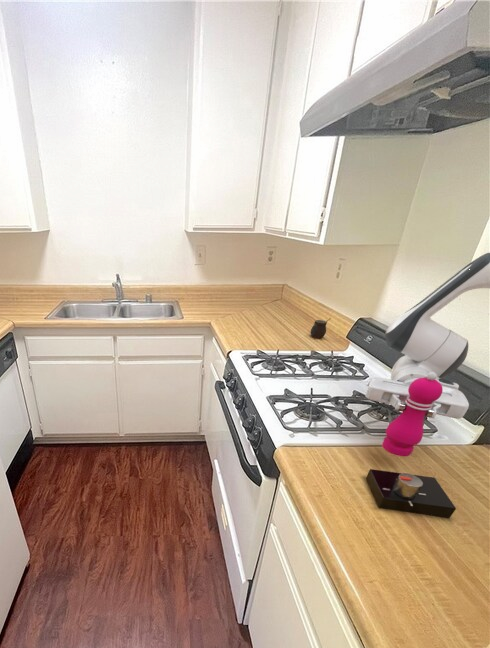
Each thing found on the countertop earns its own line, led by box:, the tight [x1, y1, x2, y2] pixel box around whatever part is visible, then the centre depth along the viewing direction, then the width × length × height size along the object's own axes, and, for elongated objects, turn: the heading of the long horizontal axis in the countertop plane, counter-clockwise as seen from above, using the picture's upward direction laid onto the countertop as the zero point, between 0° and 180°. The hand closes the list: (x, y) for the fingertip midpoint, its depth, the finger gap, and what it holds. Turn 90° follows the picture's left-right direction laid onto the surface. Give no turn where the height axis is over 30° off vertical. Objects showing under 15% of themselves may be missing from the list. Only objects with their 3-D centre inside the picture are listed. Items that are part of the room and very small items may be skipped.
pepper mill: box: [381, 372, 443, 457], centre depth 78 cm, size 7×7×20 cm
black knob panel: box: [365, 468, 457, 519], centre depth 77 cm, size 14×11×3 cm
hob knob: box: [393, 472, 423, 499], centre depth 74 cm, size 4×4×4 cm
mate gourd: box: [310, 317, 331, 339], centre depth 171 cm, size 7×8×10 cm
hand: (415, 411), depth 77 cm, fingers closed on pepper mill, 4 cm apart
